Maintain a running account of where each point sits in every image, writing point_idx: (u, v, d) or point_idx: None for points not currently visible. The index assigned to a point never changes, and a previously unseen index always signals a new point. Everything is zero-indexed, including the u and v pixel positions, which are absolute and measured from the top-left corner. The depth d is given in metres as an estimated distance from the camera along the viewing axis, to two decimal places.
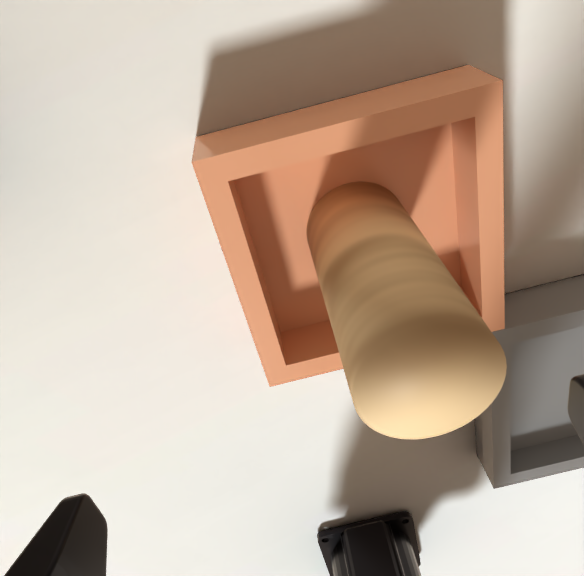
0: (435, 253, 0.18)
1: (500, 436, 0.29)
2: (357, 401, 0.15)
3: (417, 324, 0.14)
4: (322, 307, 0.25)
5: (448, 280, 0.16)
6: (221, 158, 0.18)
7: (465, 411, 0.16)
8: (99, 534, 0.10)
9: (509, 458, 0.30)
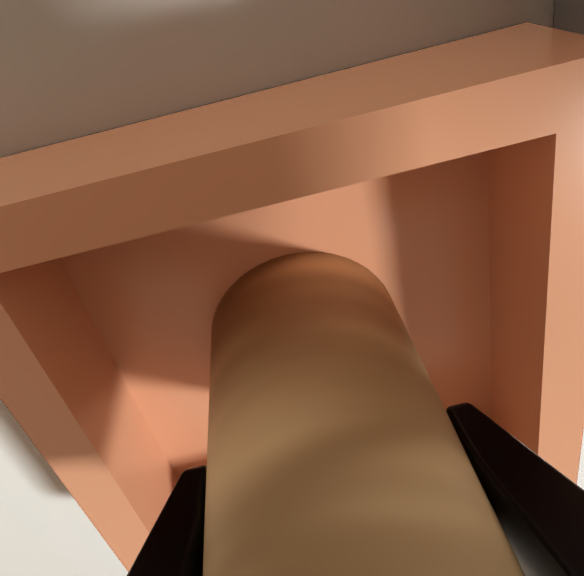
0: (242, 484, 0.07)
1: None
2: None
3: None
4: (459, 366, 0.14)
5: None
6: None
7: None
8: None
9: None
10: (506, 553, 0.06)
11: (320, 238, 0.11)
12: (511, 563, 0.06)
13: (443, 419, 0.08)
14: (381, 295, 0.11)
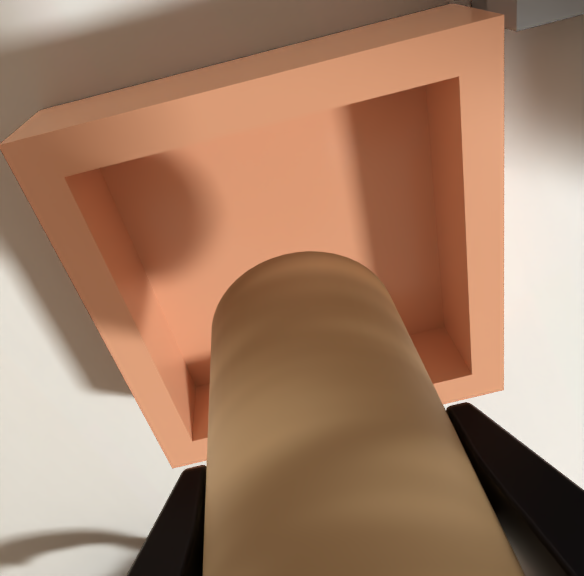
0: (242, 482, 0.07)
1: None
2: None
3: None
4: (415, 280, 0.17)
5: None
6: (166, 445, 0.17)
7: None
8: None
9: None
10: (505, 551, 0.06)
11: (302, 168, 0.15)
12: (510, 560, 0.06)
13: (442, 417, 0.08)
14: (381, 294, 0.11)
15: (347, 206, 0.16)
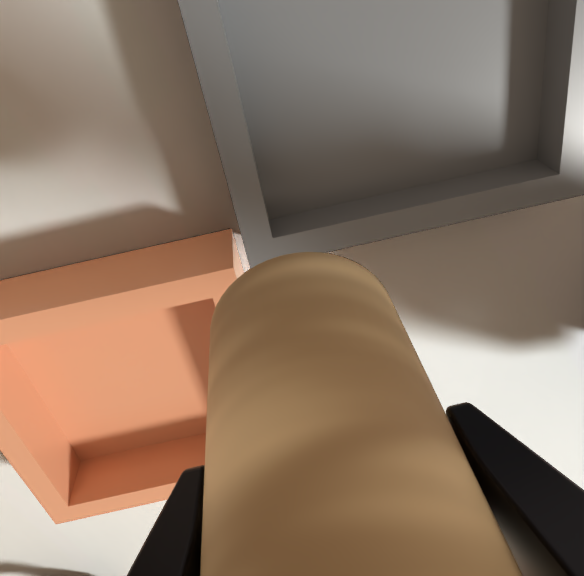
0: (240, 484, 0.07)
1: (458, 211, 0.18)
2: None
3: None
4: None
5: None
6: (49, 509, 0.23)
7: None
8: None
9: (517, 185, 0.18)
10: (504, 553, 0.06)
11: (140, 325, 0.22)
12: (509, 563, 0.06)
13: (441, 419, 0.08)
14: (380, 295, 0.11)
15: (176, 346, 0.22)
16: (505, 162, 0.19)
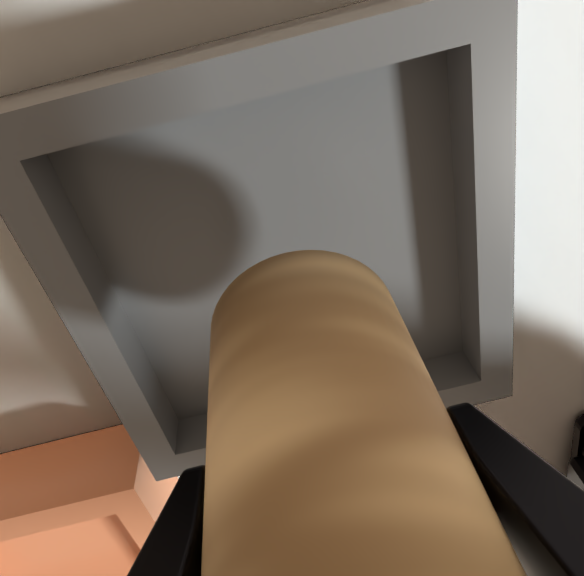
0: (241, 482, 0.07)
1: None
2: None
3: None
4: None
5: None
6: None
7: None
8: None
9: None
10: (507, 552, 0.06)
11: None
12: (512, 562, 0.06)
13: (443, 417, 0.08)
14: (381, 293, 0.11)
15: (100, 524, 0.21)
16: (429, 355, 0.18)
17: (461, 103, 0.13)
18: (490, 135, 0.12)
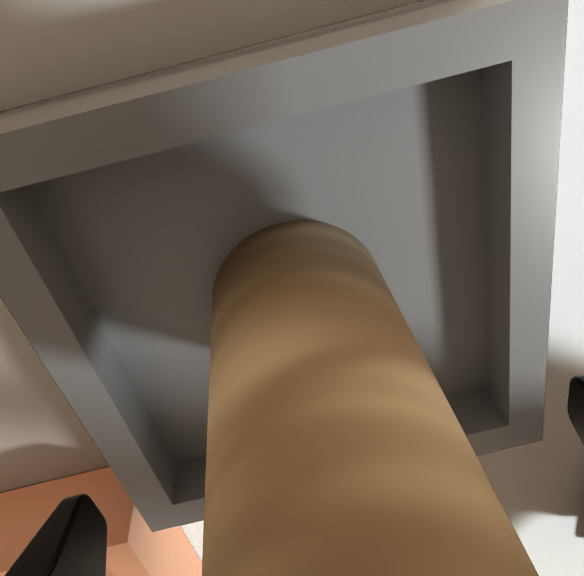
0: (240, 397, 0.08)
1: None
2: None
3: None
4: None
5: (218, 553, 0.07)
6: None
7: None
8: (99, 534, 0.10)
9: None
10: (464, 445, 0.08)
11: None
12: (468, 452, 0.07)
13: (416, 351, 0.09)
14: (365, 257, 0.12)
15: None
16: (450, 394, 0.16)
17: (496, 126, 0.11)
18: (530, 163, 0.11)
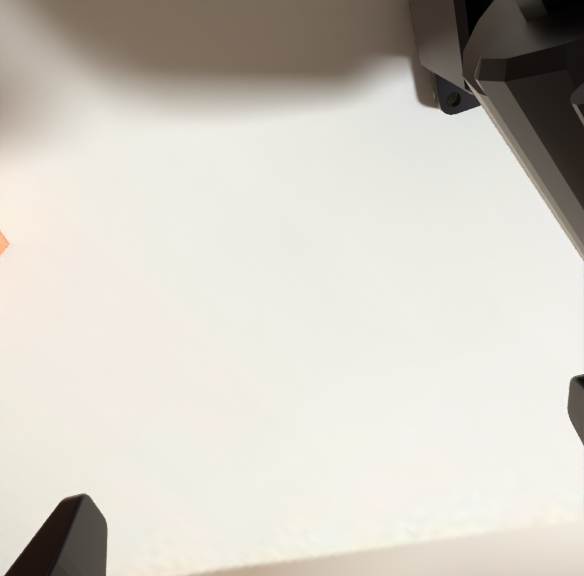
0: None
1: None
2: None
3: None
4: None
5: None
6: None
7: None
8: (99, 534, 0.10)
9: None
10: None
11: None
12: None
13: None
14: None
15: None
16: None
17: None
18: None
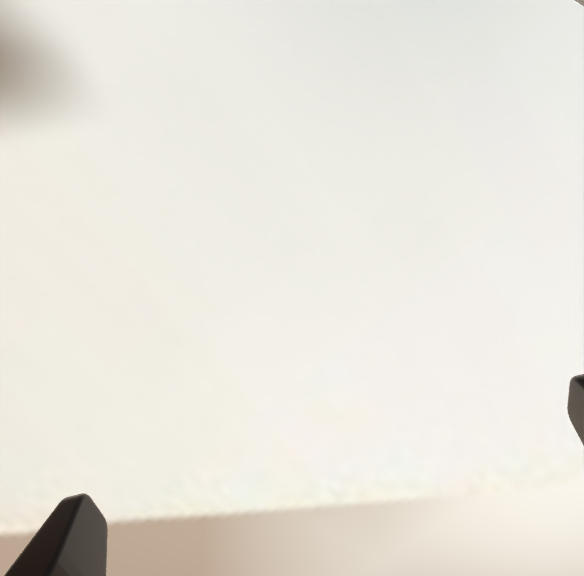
0: None
1: None
2: None
3: None
4: None
5: None
6: None
7: None
8: (99, 534, 0.10)
9: None
10: None
11: None
12: None
13: None
14: None
15: None
16: None
17: None
18: None
